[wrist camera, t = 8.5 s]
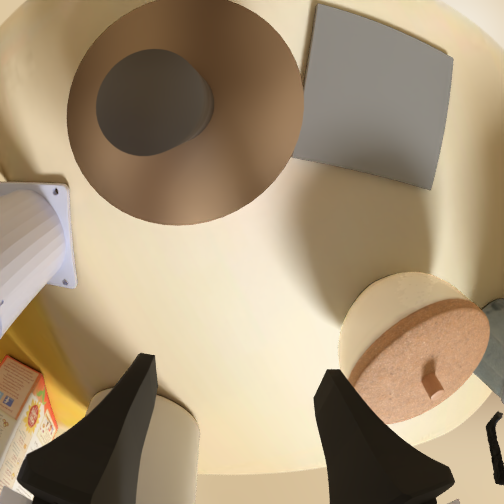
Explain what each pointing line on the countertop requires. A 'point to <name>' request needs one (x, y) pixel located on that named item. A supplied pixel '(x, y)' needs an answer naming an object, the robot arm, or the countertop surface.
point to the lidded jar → (410, 344)
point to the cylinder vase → (166, 454)
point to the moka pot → (494, 377)
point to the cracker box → (22, 419)
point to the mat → (373, 99)
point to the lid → (185, 110)
